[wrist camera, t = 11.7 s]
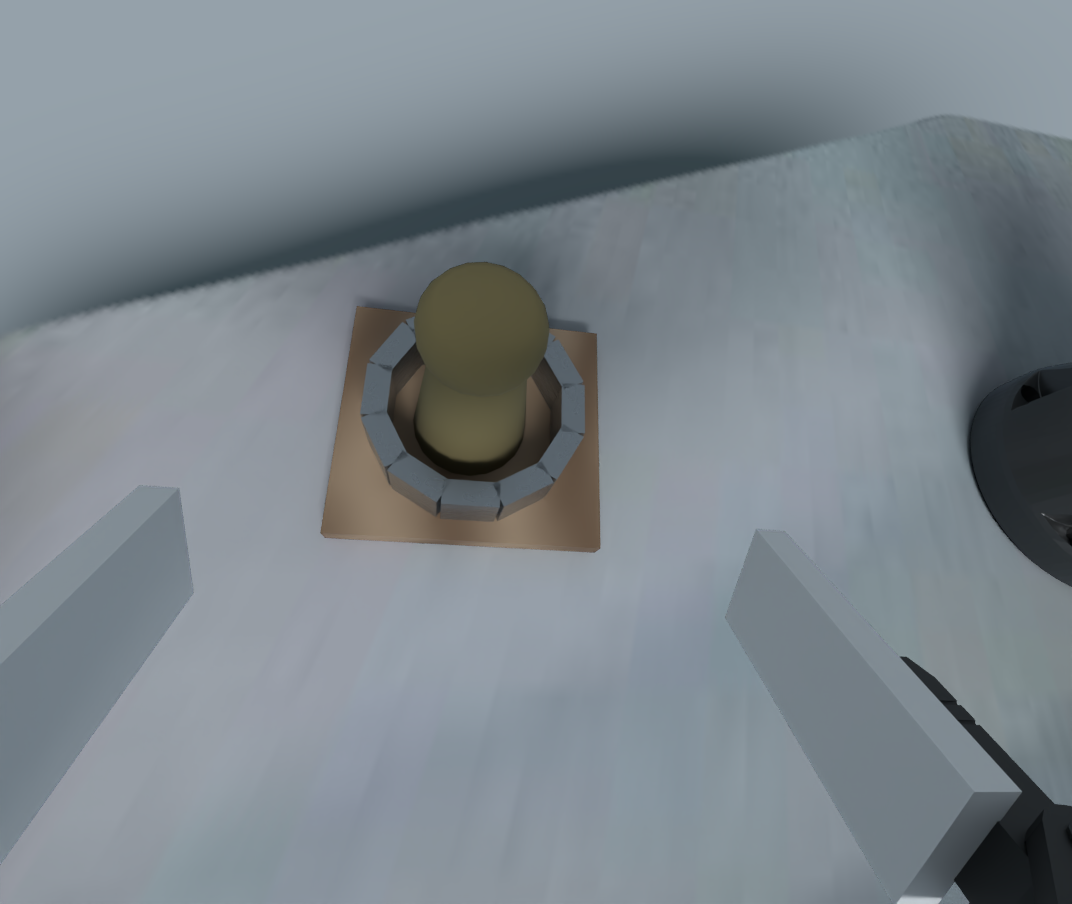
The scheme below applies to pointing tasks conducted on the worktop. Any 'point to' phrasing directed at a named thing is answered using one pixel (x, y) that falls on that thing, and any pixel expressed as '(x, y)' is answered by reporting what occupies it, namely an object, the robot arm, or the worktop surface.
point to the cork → (476, 365)
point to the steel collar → (465, 496)
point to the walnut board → (385, 515)
